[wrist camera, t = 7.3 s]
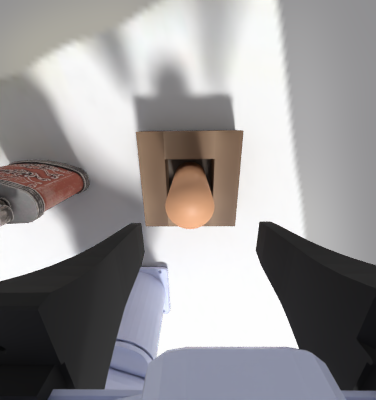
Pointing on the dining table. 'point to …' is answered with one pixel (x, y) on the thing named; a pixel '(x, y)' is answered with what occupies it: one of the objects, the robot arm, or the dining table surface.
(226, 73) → the dining table surface
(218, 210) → the hole block
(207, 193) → the pin
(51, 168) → the lighter
